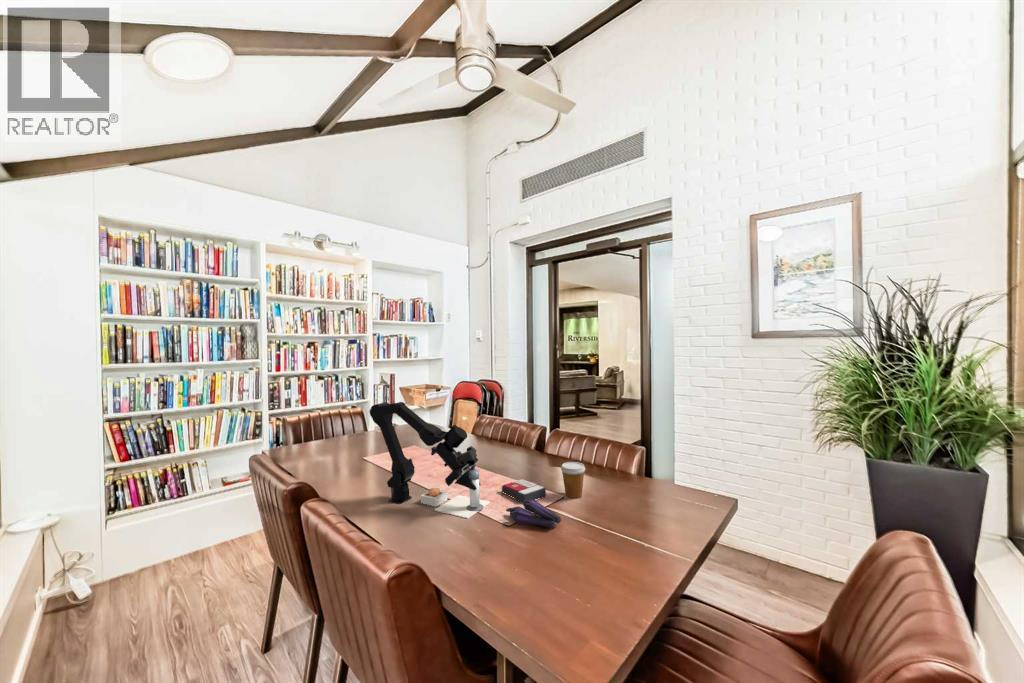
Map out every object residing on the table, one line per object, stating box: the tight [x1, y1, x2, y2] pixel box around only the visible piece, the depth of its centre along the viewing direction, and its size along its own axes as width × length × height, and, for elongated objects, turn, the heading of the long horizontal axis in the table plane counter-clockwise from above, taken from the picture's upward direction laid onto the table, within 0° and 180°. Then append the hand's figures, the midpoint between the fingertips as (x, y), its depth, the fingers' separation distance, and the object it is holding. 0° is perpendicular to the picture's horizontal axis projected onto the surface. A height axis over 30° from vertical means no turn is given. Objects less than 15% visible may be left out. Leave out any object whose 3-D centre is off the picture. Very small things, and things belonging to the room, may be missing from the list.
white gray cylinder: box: [468, 469, 481, 507], centre depth 150 cm, size 4×4×12 cm
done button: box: [427, 487, 441, 497], centre depth 157 cm, size 4×4×2 cm
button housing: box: [420, 490, 448, 508], centre depth 157 cm, size 7×7×3 cm
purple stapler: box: [505, 499, 562, 530], centre depth 138 cm, size 7×12×20 cm
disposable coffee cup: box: [560, 461, 586, 500], centre depth 159 cm, size 10×10×12 cm
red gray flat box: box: [501, 478, 547, 503], centre depth 162 cm, size 11×4×15 cm
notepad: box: [434, 494, 491, 519], centre depth 152 cm, size 16×15×1 cm
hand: (477, 487), depth 149 cm, fingers closed on white gray cylinder, 3 cm apart
